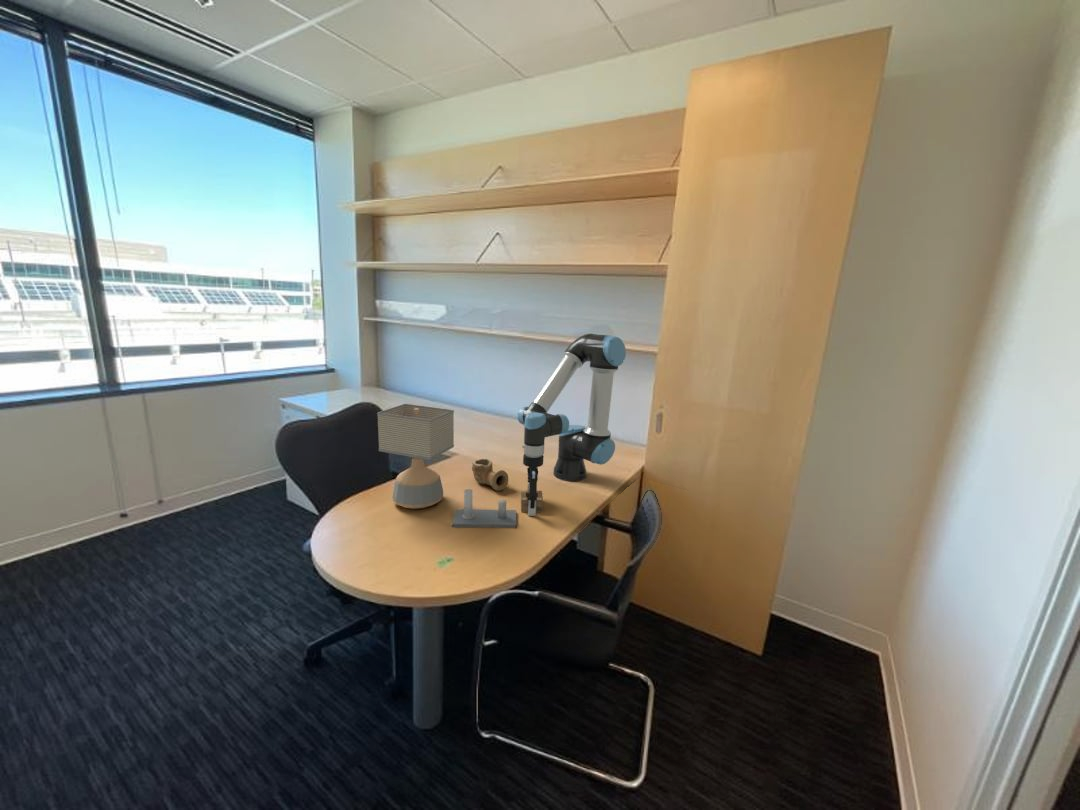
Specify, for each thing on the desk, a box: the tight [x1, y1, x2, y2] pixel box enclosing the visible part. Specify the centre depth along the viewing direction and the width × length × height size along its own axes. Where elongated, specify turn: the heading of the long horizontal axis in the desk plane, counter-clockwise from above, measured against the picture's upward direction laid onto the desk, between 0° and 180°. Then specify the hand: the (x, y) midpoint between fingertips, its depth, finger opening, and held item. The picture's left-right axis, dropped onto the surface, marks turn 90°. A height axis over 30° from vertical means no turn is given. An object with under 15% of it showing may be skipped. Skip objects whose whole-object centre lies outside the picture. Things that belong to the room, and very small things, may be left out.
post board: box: [451, 488, 517, 528], centre depth 153 cm, size 22×11×11 cm, turn 93°
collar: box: [520, 490, 544, 513], centre depth 164 cm, size 8×8×5 cm
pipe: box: [471, 458, 509, 491], centre depth 182 cm, size 9×16×10 cm, turn 52°
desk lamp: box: [376, 403, 455, 510], centre depth 162 cm, size 22×19×37 cm
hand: (531, 507), depth 165 cm, fingers open, 13 cm apart
